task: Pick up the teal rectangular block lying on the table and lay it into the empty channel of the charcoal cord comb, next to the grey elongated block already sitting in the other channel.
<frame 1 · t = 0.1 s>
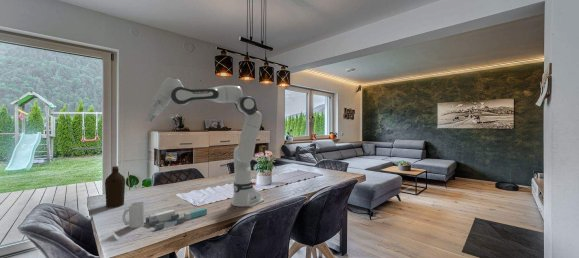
hand: (148, 121, 144), 54 cm above the table, tool tilted 30°, fingers open, 8 cm apart
olive oil: (115, 205, 157), on the table
cord comb: (165, 223, 129), on the table
mug: (133, 228, 123), on the table
grey elongated block: (162, 220, 131), point 1 cm above the table, touching cord comb
teal rectangular block: (195, 217, 138), on the table
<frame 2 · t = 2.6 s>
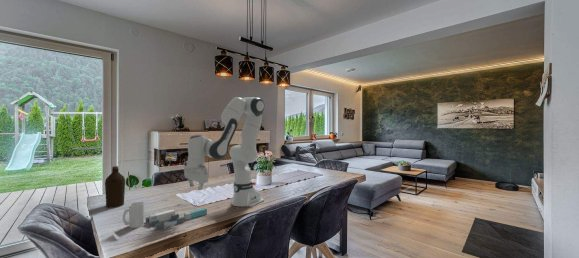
hand: (195, 188, 138), 17 cm above the table, tool pointing down, fingers open, 8 cm apart
nothing on the table moved.
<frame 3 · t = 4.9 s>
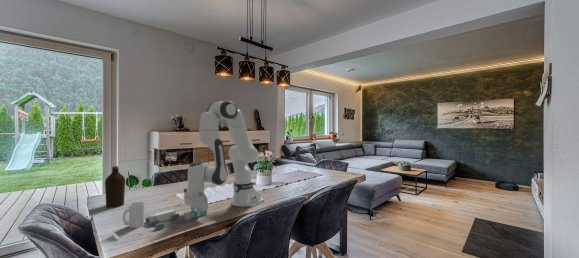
hand: (195, 215, 138), 2 cm above the table, tool pointing down, fingers closed on teal rectangular block, 3 cm apart
teal rectangular block: (195, 217, 138), on the table, touching gripper
everything else where it was.
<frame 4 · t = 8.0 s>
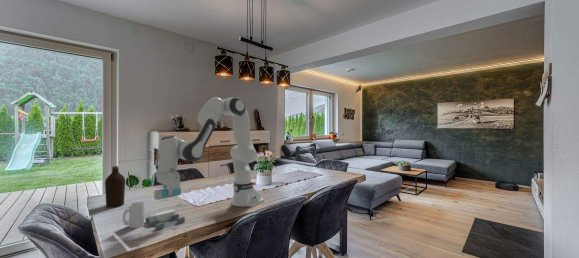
hand: (168, 193, 127), 17 cm above the table, tool pointing down, fingers closed on teal rectangular block, 3 cm apart
teal rectangular block: (167, 196, 127), point 15 cm above the table, touching gripper
everything else where it was.
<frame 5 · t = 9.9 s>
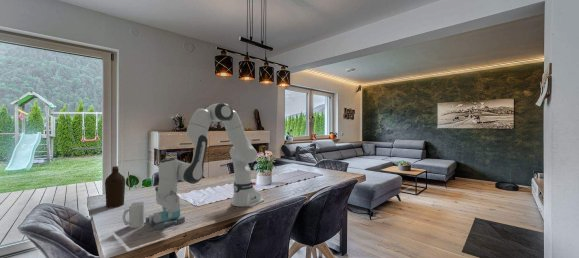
hand: (167, 215, 127), 5 cm above the table, tool pointing down, fingers closed on teal rectangular block, 3 cm apart
teal rectangular block: (167, 218, 127), point 4 cm above the table, touching gripper
everything else where it was.
when the fingers open (4 cm above the table, at t = 11.0 s): teal rectangular block stays where it is, resting on cord comb.
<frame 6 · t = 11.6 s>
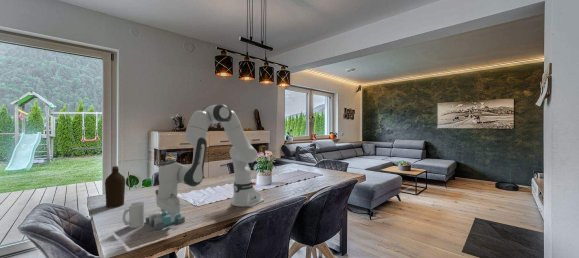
hand: (168, 218, 127), 4 cm above the table, tool pointing down, fingers open, 8 cm apart
grey elongated block: (162, 220, 131), point 1 cm above the table, touching cord comb, gripper
teal rectangular block: (167, 223, 127), point 1 cm above the table, touching cord comb
everything else where it was.
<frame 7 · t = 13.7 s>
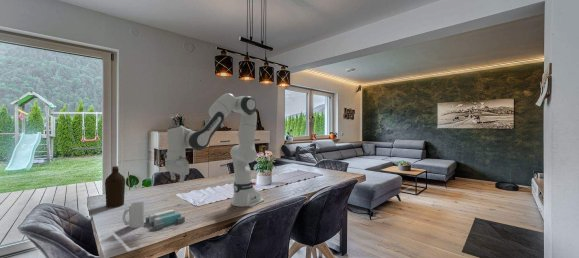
hand: (177, 181, 132), 22 cm above the table, tool pointing down, fingers open, 8 cm apart
grey elongated block: (162, 220, 131), point 1 cm above the table, touching cord comb
everything else where it was.
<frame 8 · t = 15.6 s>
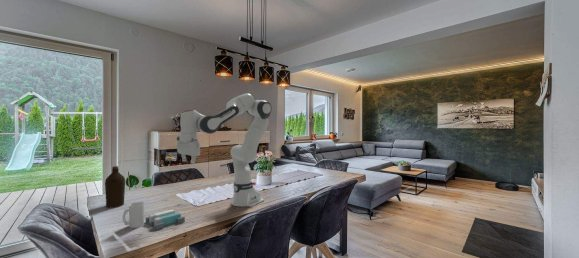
hand: (188, 162, 139), 31 cm above the table, tool pointing down, fingers open, 8 cm apart
nothing on the table moved.
at the end: teal rectangular block 0.0 cm from the target spot on the cord comb, point 1.0 cm above the cord comb's base; grey elongated block moved 0.3 cm from its start; the gripper is holding nothing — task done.
